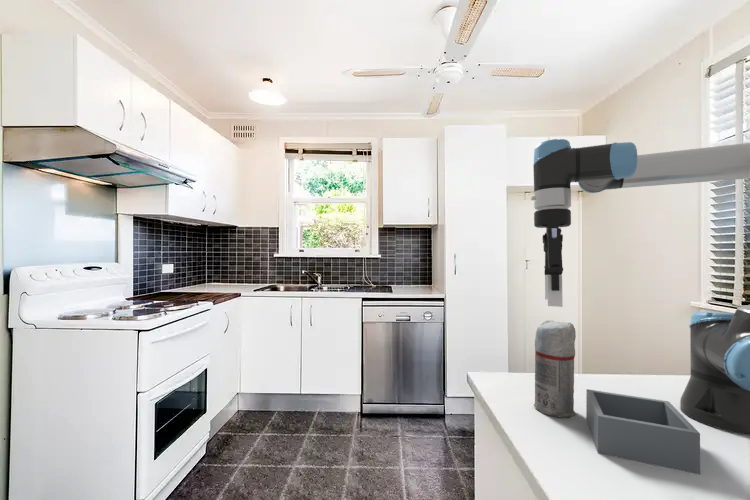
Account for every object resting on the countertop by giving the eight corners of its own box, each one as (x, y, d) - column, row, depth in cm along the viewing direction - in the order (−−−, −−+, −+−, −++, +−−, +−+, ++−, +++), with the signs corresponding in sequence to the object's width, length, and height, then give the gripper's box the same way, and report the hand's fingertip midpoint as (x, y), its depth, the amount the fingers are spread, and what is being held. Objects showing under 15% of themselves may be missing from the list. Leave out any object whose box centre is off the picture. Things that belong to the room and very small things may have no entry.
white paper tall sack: (581, 421, 74) (581, 326, 74) (539, 417, 75) (540, 324, 76) (567, 404, 82) (568, 319, 82) (530, 401, 84) (531, 317, 84)
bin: (668, 434, 69) (668, 401, 69) (700, 474, 56) (700, 433, 56) (586, 419, 74) (586, 389, 75) (597, 452, 62) (598, 415, 62)
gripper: (533, 216, 93) (534, 296, 92) (534, 202, 70) (535, 308, 69) (565, 215, 90) (566, 298, 89) (577, 200, 67) (579, 311, 66)
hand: (553, 302), depth 79 cm, fingers open, 13 cm apart
